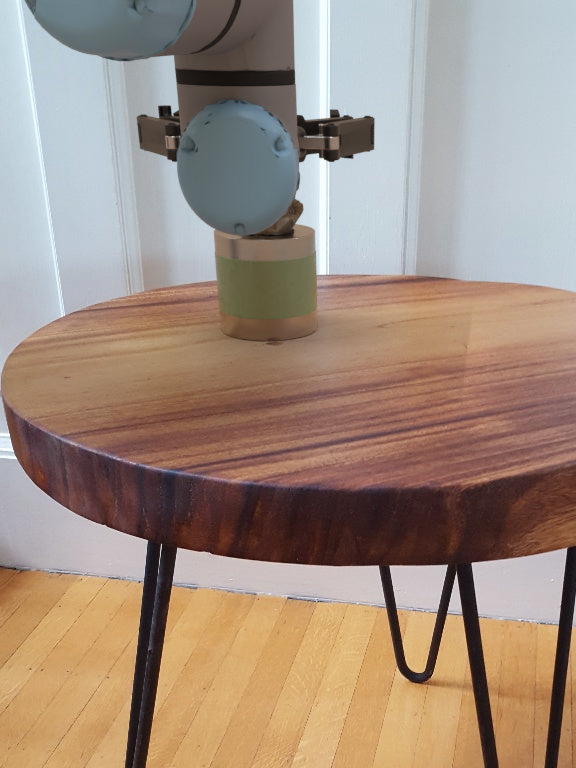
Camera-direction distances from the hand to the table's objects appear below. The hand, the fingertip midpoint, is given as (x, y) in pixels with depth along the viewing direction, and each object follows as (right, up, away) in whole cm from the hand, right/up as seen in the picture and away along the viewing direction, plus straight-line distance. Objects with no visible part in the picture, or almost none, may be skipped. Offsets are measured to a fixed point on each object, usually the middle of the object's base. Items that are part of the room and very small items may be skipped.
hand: (260, 125), depth 89 cm
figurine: (0, -9, +2) cm, 9 cm away
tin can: (0, -16, +7) cm, 18 cm away
